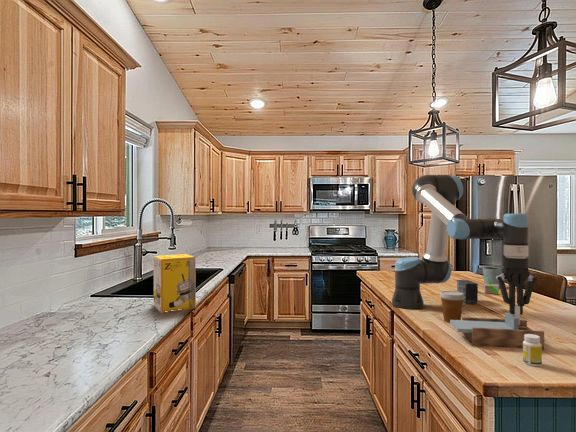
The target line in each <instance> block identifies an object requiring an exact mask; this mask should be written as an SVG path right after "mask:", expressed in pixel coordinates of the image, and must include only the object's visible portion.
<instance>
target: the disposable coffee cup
mask: <svg viewBox="0 0 576 432" xmlns="http://www.w3.org/2000/svg"><path fill="white" fill-rule="evenodd" d="M439 296H440V300H441V306H442V308H441V309H442V313H443V321H444V322H446V323H448V324H451V323H450V320H462V313H463V307H464V306H463V305H464V303H463V299H464V298H465V297H464V294H463V293H461V292H457V290H455V291H454V290H442V291H441V292H440V294H439Z"/></svg>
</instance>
